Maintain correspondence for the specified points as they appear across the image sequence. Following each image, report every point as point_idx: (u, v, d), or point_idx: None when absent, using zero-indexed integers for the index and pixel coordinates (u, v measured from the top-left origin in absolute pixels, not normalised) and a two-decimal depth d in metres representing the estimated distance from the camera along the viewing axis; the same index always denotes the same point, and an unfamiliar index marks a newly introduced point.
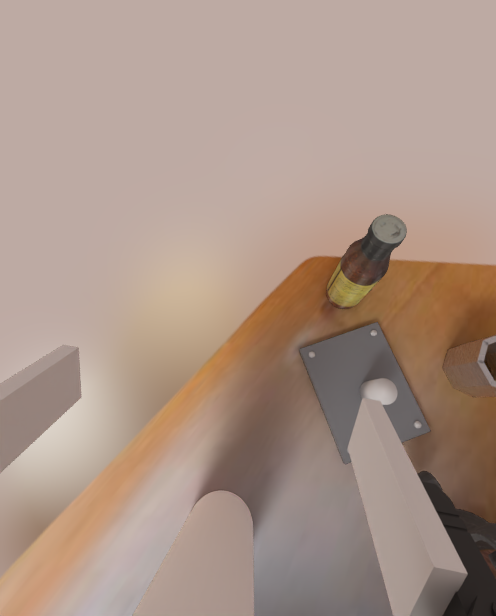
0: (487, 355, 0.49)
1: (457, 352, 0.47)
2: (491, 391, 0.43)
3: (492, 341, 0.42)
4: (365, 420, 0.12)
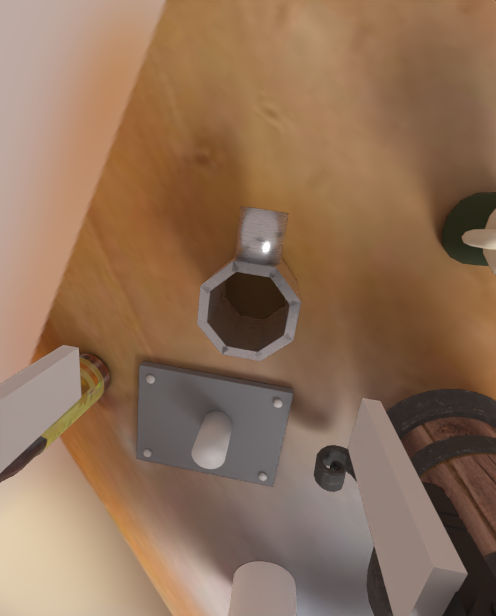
0: None
1: None
2: None
3: (205, 312, 0.25)
4: (365, 420, 0.12)
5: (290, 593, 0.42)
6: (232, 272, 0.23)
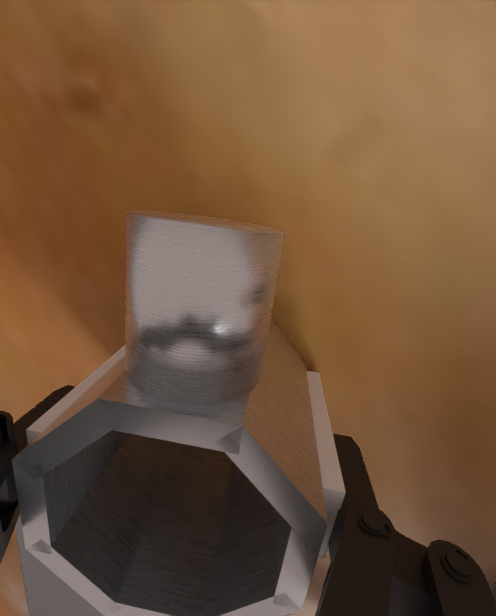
0: None
1: None
2: None
3: (40, 525, 0.08)
4: None
5: None
6: (100, 431, 0.07)
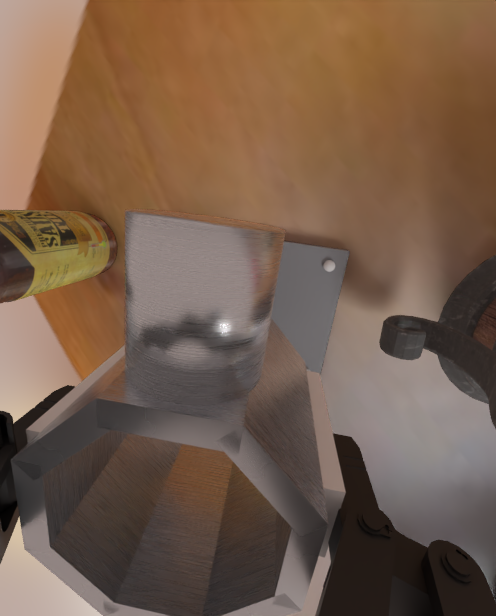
0: None
1: None
2: None
3: (39, 525, 0.08)
4: None
5: None
6: (99, 431, 0.07)
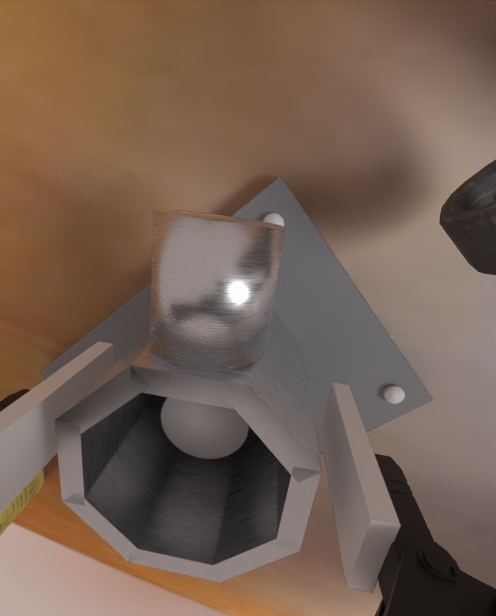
0: None
1: None
2: None
3: (76, 478, 0.10)
4: (333, 402, 0.13)
5: None
6: (131, 393, 0.08)
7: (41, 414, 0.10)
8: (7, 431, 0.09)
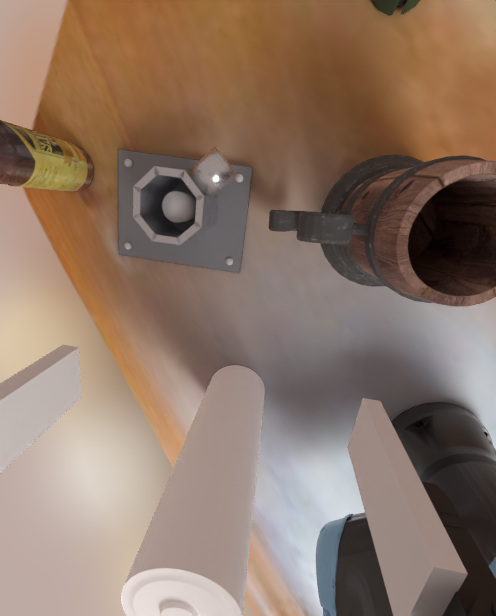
0: None
1: None
2: None
3: (144, 184, 0.33)
4: (365, 420, 0.12)
5: (258, 384, 0.47)
6: (178, 176, 0.33)
7: None
8: None
